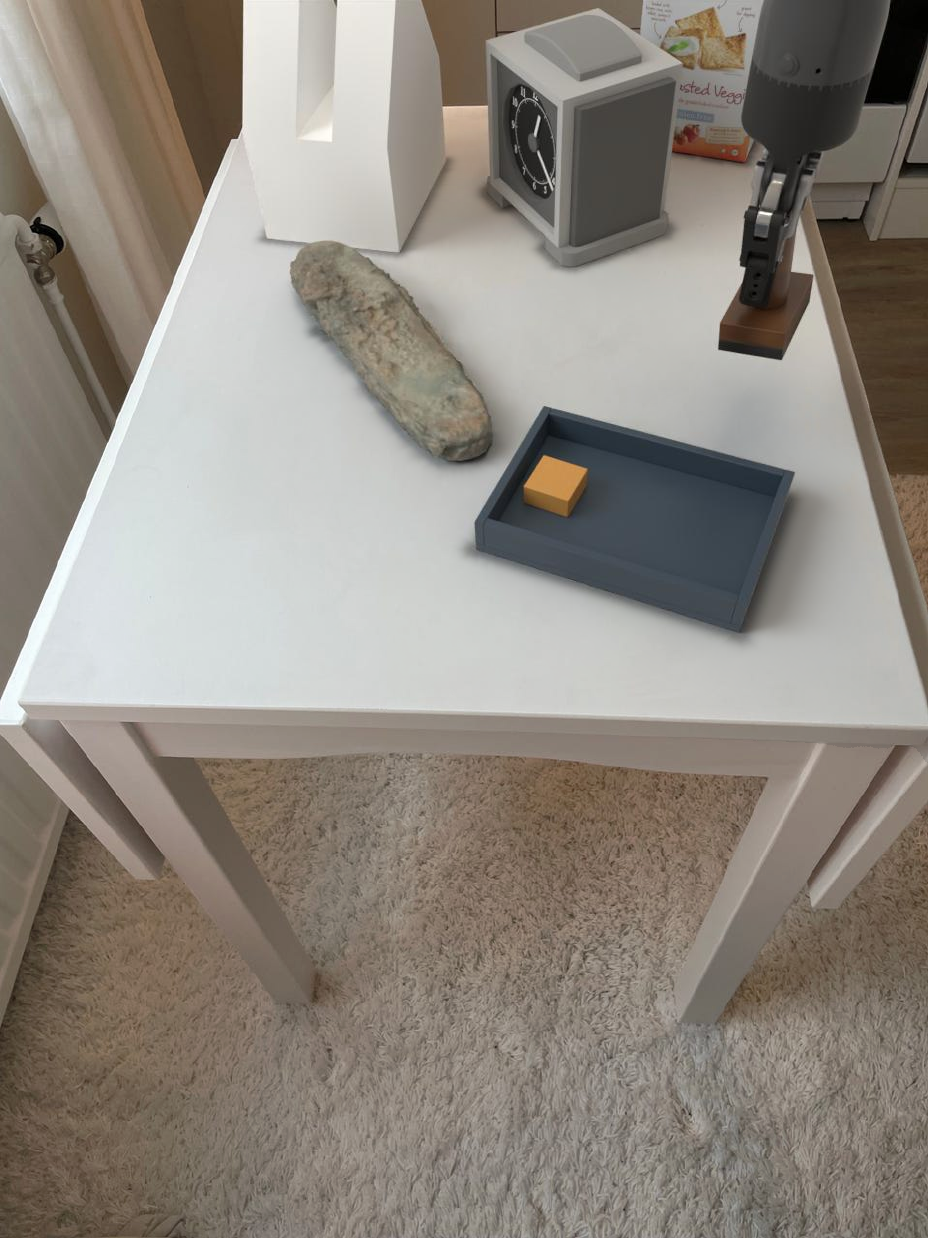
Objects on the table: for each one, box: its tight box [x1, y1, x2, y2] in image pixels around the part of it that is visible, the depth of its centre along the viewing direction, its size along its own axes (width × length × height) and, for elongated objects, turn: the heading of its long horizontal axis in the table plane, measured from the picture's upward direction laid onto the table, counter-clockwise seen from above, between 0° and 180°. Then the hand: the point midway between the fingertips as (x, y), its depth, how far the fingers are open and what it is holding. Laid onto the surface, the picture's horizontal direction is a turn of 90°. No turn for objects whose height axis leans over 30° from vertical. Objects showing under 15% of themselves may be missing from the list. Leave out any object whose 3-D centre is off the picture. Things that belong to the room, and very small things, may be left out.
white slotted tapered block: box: [241, 0, 447, 254], centre depth 100 cm, size 19×15×25 cm
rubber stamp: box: [717, 217, 815, 361], centre depth 73 cm, size 5×8×8 cm, turn 153°
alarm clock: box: [485, 7, 683, 268], centre depth 99 cm, size 18×13×18 cm
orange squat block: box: [524, 455, 588, 517], centre depth 79 cm, size 4×4×2 cm
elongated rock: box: [289, 240, 494, 462], centre depth 91 cm, size 35×5×10 cm
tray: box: [473, 405, 796, 633], centre depth 77 cm, size 22×15×3 cm
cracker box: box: [639, 0, 764, 163], centre depth 105 cm, size 14×6×21 cm, turn 68°
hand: (759, 289), depth 74 cm, fingers closed on rubber stamp, 3 cm apart
